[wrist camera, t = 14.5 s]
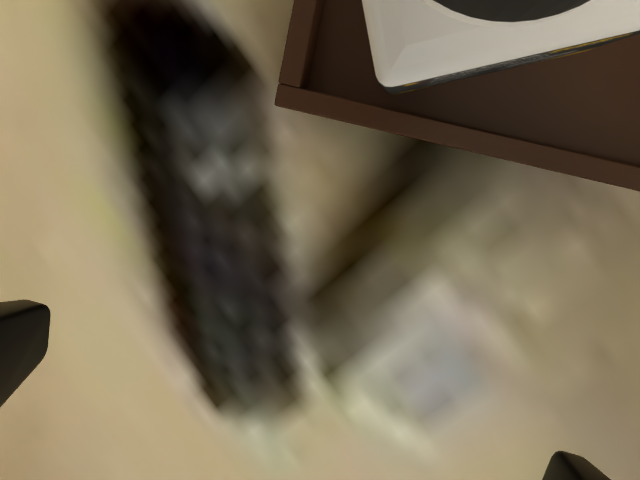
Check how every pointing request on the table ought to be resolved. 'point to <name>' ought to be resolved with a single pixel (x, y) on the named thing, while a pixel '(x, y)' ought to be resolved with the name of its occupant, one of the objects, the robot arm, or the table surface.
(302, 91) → the tray
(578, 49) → the medicine bottle
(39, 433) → the table surface
